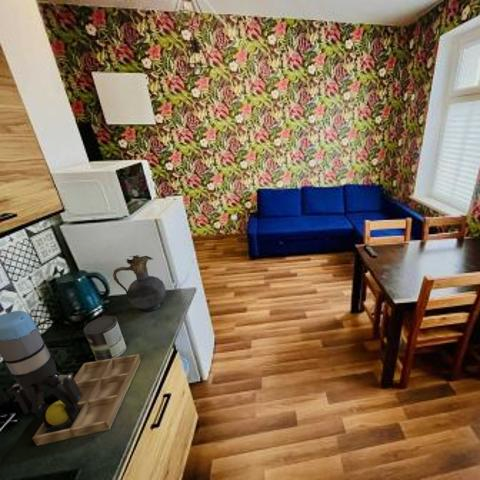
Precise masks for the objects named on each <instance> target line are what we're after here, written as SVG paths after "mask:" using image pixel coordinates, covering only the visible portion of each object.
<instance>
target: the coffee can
mask: <svg viewBox="0 0 480 480" xmlns="http://www.w3.org/2000/svg"><path fill="white" fill-rule="evenodd" d="M83 334H84V335H85V337H86V340H87V342H88V344H89V347H90V349H91V352H92V353H93V356H94V360H95V361H101V360H107V359H113V358H118V357H121V355H122V354H124V352H125V351H126V350H127V344H126V343H125V339H124V337H123V333H122V330H121V328H120V325H119V322H118V318H117V317H116V316H114V315H105V316H101V317H97V318H96V319H94V320H92V321H90V322H88V323H87V324H86V325H85V326H84V328H83Z"/></svg>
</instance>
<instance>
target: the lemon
mask: <svg viewBox="0 0 480 480" xmlns="http://www.w3.org/2000/svg"><path fill="white" fill-rule="evenodd" d="M48 406H49V407H48V409H47V411H46V414H45V417H46V420H47V422H48V423H49V424H51V425H60V424H62V423H64V422H66V421H67V420H68V419H69V416H68V414H67V413H66V411H65V409H64V408H65V407H66V405H65V404H64V403H63V402H62V401H58V400H57V401H54V402H53V403H52V404H50V405H48Z"/></svg>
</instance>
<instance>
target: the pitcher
mask: <svg viewBox="0 0 480 480" xmlns="http://www.w3.org/2000/svg"><path fill="white" fill-rule="evenodd" d="M128 257H132V258H131V259H130V258H127V259H126V263H127V264H128V266H120V267H117V268H115V269H114V270H113V272H112V277H113V281H115V283H116V284H117V285H119V287H120V288H122V289H123V290H124V291H125V297H124V300H123V301H124V302H126V300H128V302H129V304H131V306H133V307H135V308H136V309H139V310H140V309H141V310H142V312H143V313H150V312H154V311H156V310H158V309H159V308H160V307H161V303H162V302H163V301H164V299H165V297H166V291H167V289H166V286H165V283H164V282H163V280H162V279H160V278H159V277H157V276H153V275H149V272H148V267H147V263H148V261H153V260H154V258H153V257H151V256H149V255H143V256H140V254H136V255H130V256H128ZM121 271H128V272H129V271H131V272H133V274H134V275H135V278H136V279H135V280H133V281H132V282H131V283H130V285H129V286H128V288H126V287H125V286H124V285H123V284H122V283H121V282H120V281H119V279H118V276H117V274H118V273H119V272H121Z"/></svg>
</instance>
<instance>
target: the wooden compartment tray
mask: <svg viewBox="0 0 480 480" xmlns="http://www.w3.org/2000/svg"><path fill="white" fill-rule="evenodd" d="M140 363H141V357H140V353H136V354H130V355H126V356H125V355H124V356H118V357H117V358H113V359H107V360H101V361H97V360H95V361H89V362H83V364H82V366H81V367H80V368H79V370H78V371H77V373H75V375H74V376H73V379H74V380H75V382H76V384H77V386H78V388H79V389H80V391H81V393H82V397H81V399H80V400H79V402H78V405H79V408H78V411H79V414H78V416H77V418H76V420H75V421H74V423H72V422H71V420H70V418H69V419H68V420H67V421H66V422H64V423H62V424H60V425H52V426H51V427H50V428H47V427H46V426H45V424H44V422H43V421H42V423H41V425H40V426H39V428H38V429H37V431H36V432H35V434H34V436H32V439H31V440H32V441H33V442H34V444H35V445H36V446H37V447H38V446H42V445H47V444H51V443H56V442H60V441H64V440H69V439H74V438H78V437H82V436H87V435H91V434H97V433H100V432H104V431H108V430H111V427H112V426H113V423H114V420H115V419H116V417H117V414H118V412H119V410H120V408H121V405H122V403H123V402H124V399H125V397H126V394H127V392H128V390H129V387H130V385H131V384H132V381H133V379H134V377H135V375H136V372H137V370H138V368H139V366H140ZM57 401H60V400H59V399H57Z"/></svg>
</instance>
